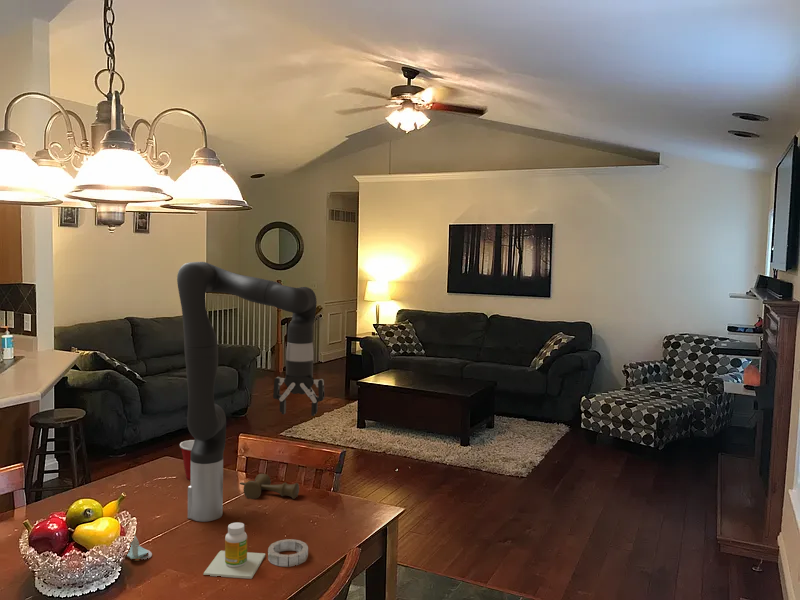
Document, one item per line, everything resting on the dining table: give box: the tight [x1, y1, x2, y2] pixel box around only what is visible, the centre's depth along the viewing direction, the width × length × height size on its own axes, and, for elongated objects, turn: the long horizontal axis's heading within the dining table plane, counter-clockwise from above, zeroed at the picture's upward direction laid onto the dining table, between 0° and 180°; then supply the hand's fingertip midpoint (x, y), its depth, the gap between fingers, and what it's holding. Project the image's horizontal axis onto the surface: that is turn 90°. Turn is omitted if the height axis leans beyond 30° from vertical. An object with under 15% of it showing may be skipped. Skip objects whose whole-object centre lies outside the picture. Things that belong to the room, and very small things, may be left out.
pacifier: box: [126, 535, 153, 560], centre depth 168 cm, size 7×6×6 cm
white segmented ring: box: [267, 538, 309, 568], centre depth 170 cm, size 10×10×2 cm
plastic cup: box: [179, 439, 195, 481], centre depth 224 cm, size 11×11×12 cm
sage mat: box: [203, 550, 266, 580], centre depth 165 cm, size 12×12×1 cm
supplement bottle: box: [224, 522, 248, 567], centre depth 165 cm, size 5×5×10 cm
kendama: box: [239, 473, 300, 500], centre depth 212 cm, size 6×10×20 cm
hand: (298, 414), depth 185 cm, fingers open, 8 cm apart
